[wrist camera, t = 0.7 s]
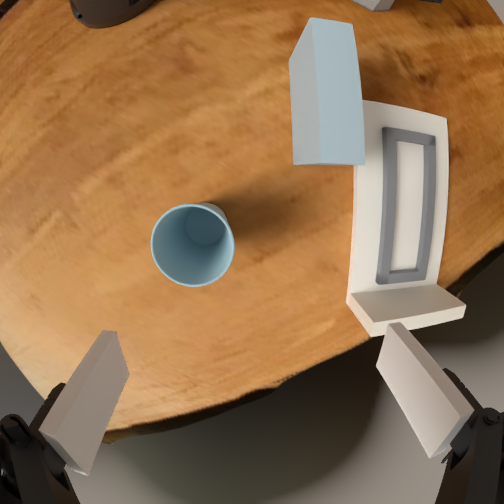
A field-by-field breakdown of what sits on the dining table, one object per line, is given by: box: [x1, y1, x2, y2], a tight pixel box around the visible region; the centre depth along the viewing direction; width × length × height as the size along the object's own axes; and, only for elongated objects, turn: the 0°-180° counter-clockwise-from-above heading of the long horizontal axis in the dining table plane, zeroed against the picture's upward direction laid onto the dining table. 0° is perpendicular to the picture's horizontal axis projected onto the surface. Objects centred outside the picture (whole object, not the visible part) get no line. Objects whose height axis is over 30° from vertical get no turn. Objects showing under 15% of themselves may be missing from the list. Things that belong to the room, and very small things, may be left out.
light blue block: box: [289, 17, 365, 166], centre depth 25 cm, size 14×4×12 cm, turn 2°
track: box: [346, 100, 466, 337], centre depth 30 cm, size 28×16×9 cm, turn 2°
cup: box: [151, 203, 235, 287], centre depth 29 cm, size 8×8×10 cm
